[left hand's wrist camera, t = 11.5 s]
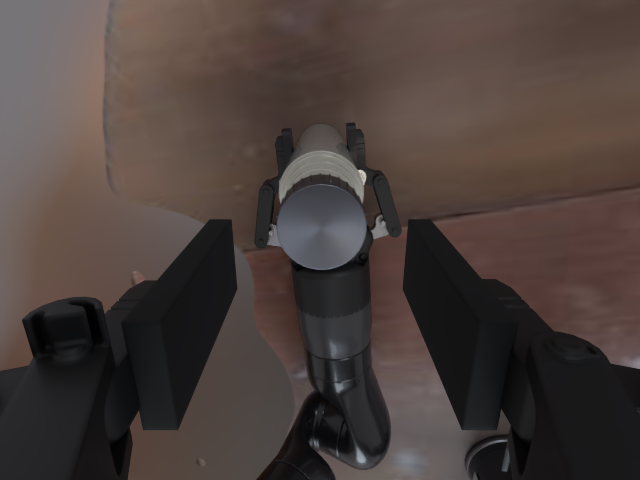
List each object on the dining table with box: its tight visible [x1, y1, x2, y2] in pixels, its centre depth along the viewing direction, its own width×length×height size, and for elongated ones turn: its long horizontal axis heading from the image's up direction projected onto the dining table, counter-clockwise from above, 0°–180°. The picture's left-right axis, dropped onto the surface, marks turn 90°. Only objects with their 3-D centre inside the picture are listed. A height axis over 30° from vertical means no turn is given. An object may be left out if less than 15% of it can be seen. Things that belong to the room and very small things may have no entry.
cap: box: [276, 173, 367, 270], centre depth 18 cm, size 4×4×2 cm
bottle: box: [279, 124, 364, 204], centre depth 29 cm, size 5×5×25 cm
